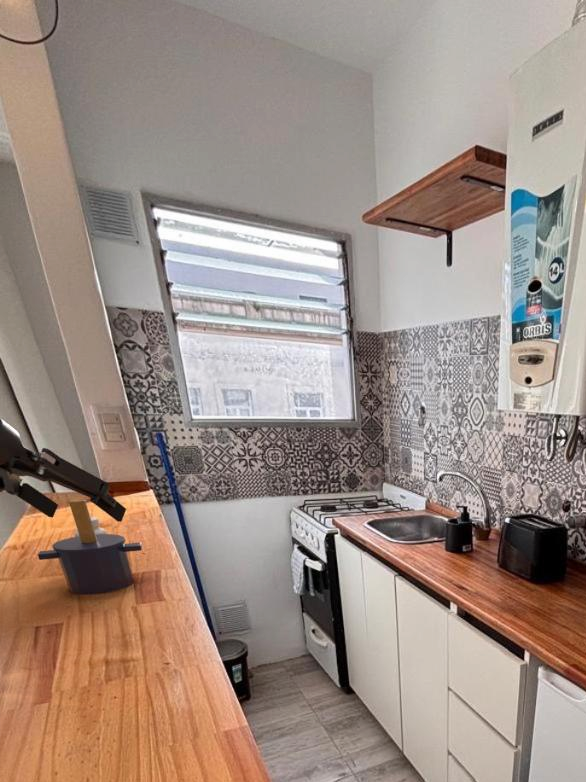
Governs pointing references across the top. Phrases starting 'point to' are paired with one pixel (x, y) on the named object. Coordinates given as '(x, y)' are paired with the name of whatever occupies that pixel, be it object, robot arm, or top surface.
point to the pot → (96, 568)
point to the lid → (86, 533)
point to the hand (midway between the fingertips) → (87, 513)
